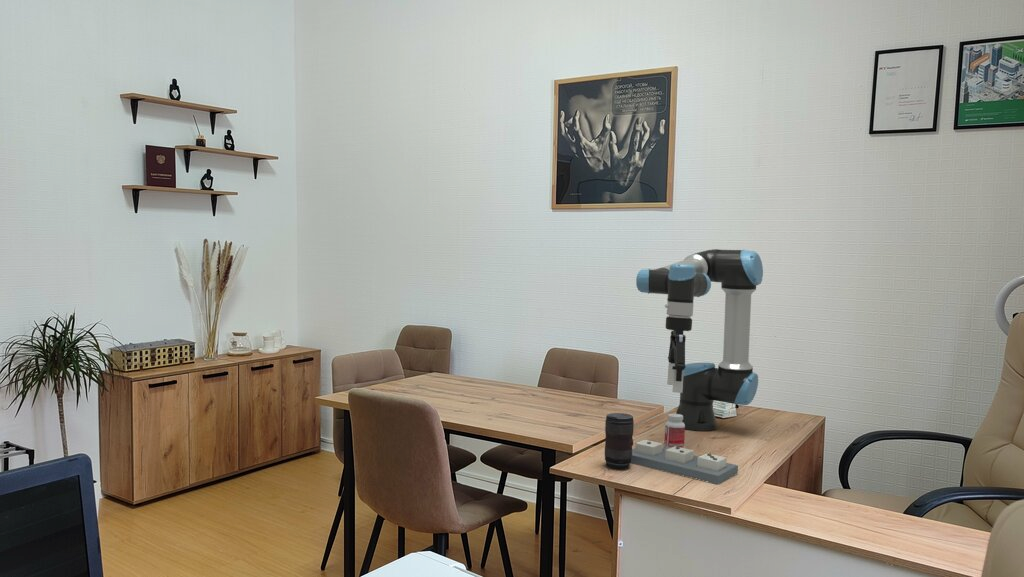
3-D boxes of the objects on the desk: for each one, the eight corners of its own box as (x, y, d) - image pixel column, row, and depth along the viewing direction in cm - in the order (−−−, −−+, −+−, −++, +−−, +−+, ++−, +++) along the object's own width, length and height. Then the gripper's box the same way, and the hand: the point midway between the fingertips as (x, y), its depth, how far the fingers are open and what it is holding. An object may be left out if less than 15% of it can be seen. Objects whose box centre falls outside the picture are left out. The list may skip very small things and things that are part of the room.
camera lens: (614, 460, 216) (617, 411, 215) (637, 467, 210) (639, 416, 209) (597, 465, 210) (600, 414, 209) (620, 472, 205) (622, 420, 204)
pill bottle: (687, 450, 231) (689, 416, 230) (674, 452, 227) (676, 418, 227) (673, 445, 236) (675, 412, 235) (659, 447, 233) (661, 413, 232)
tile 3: (705, 464, 210) (706, 452, 210) (725, 469, 206) (726, 456, 206) (697, 469, 205) (697, 456, 205) (717, 473, 202) (717, 460, 201)
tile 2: (674, 457, 216) (674, 445, 216) (693, 461, 213) (693, 449, 212) (664, 461, 212) (665, 449, 211) (683, 466, 208) (684, 453, 208)
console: (644, 451, 227) (645, 444, 227) (737, 473, 208) (738, 465, 208) (621, 460, 216) (622, 452, 216) (717, 484, 197) (718, 475, 197)
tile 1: (644, 450, 223) (645, 438, 222) (662, 454, 219) (662, 442, 219) (634, 454, 218) (635, 442, 218) (652, 458, 214) (653, 446, 214)
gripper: (661, 313, 226) (657, 381, 226) (671, 318, 201) (666, 394, 201) (686, 314, 225) (682, 382, 225) (698, 320, 200) (693, 396, 201)
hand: (674, 388), depth 213 cm, fingers open, 13 cm apart
